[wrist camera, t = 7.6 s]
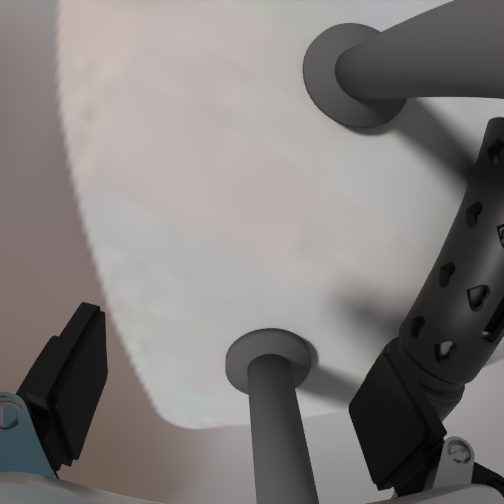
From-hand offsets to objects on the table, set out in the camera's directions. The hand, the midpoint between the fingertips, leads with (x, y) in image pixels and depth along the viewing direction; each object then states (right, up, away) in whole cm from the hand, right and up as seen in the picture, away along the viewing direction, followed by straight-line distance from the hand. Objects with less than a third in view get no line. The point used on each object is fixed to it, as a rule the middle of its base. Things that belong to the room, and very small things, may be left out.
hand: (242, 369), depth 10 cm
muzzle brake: (+18, +2, +17) cm, 25 cm away
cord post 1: (+2, -7, +20) cm, 21 cm away
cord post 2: (+8, +17, +10) cm, 21 cm away
